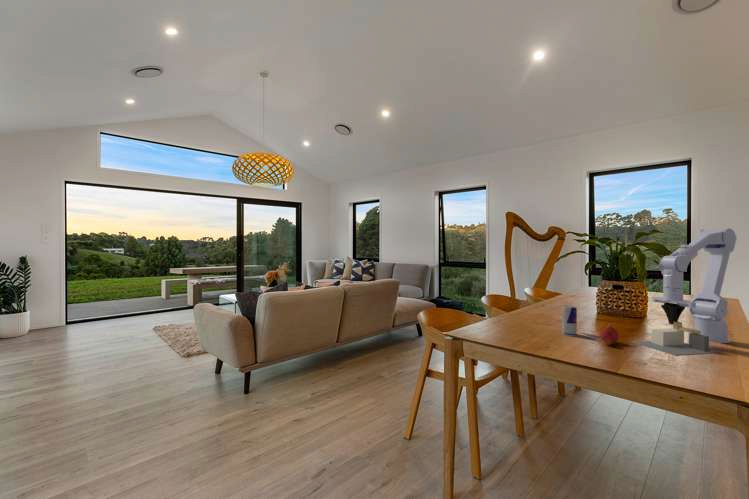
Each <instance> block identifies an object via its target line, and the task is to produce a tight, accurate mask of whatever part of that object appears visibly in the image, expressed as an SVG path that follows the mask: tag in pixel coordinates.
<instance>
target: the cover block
mask: <svg viewBox="0 0 749 499" xmlns="http://www.w3.org/2000/svg"><path fill="white" fill-rule="evenodd" d="M650 332H651V334H650V336H651V340H650V341H651V343H655V344H658V345H662V346H669V345H684V343H685V331H682V330H677V329H673V328H668V327H667V328H651V331H650Z"/></svg>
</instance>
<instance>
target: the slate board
mask: <svg viewBox="0 0 749 499" xmlns="http://www.w3.org/2000/svg"><path fill="white" fill-rule="evenodd" d="M688 333H689V334H688V343H686V342H684V345H669V346H662V345H658V344H655V343H651V340H650V341H648V340H647V341H646V340H642V341H641V340H637V341H636V340H630V341H629V342H630V343H634V344H637V345H640V346H643V347H647V348H650V349H653V350H656V351H660V352H662V353H666V354H668V355H672V356H676V357H678V356H690V355H691V356H692V355H693V356H694V355H705V354H706V355H707V354H720V353H721V352H720V351H717V350H714V349H710V341H709V336H705V335H701V334H695V333H691V332H688Z"/></svg>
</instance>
